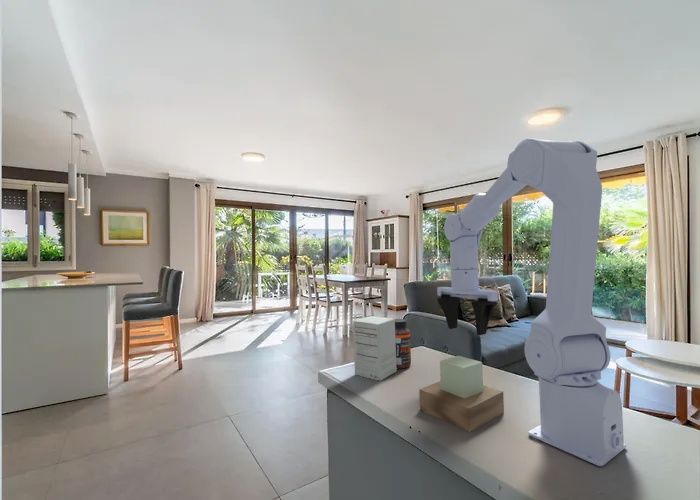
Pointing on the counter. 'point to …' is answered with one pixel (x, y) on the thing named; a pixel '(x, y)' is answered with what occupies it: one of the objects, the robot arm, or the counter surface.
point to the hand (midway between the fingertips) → (466, 331)
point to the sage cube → (461, 376)
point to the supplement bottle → (402, 344)
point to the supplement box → (374, 347)
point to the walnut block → (462, 406)
